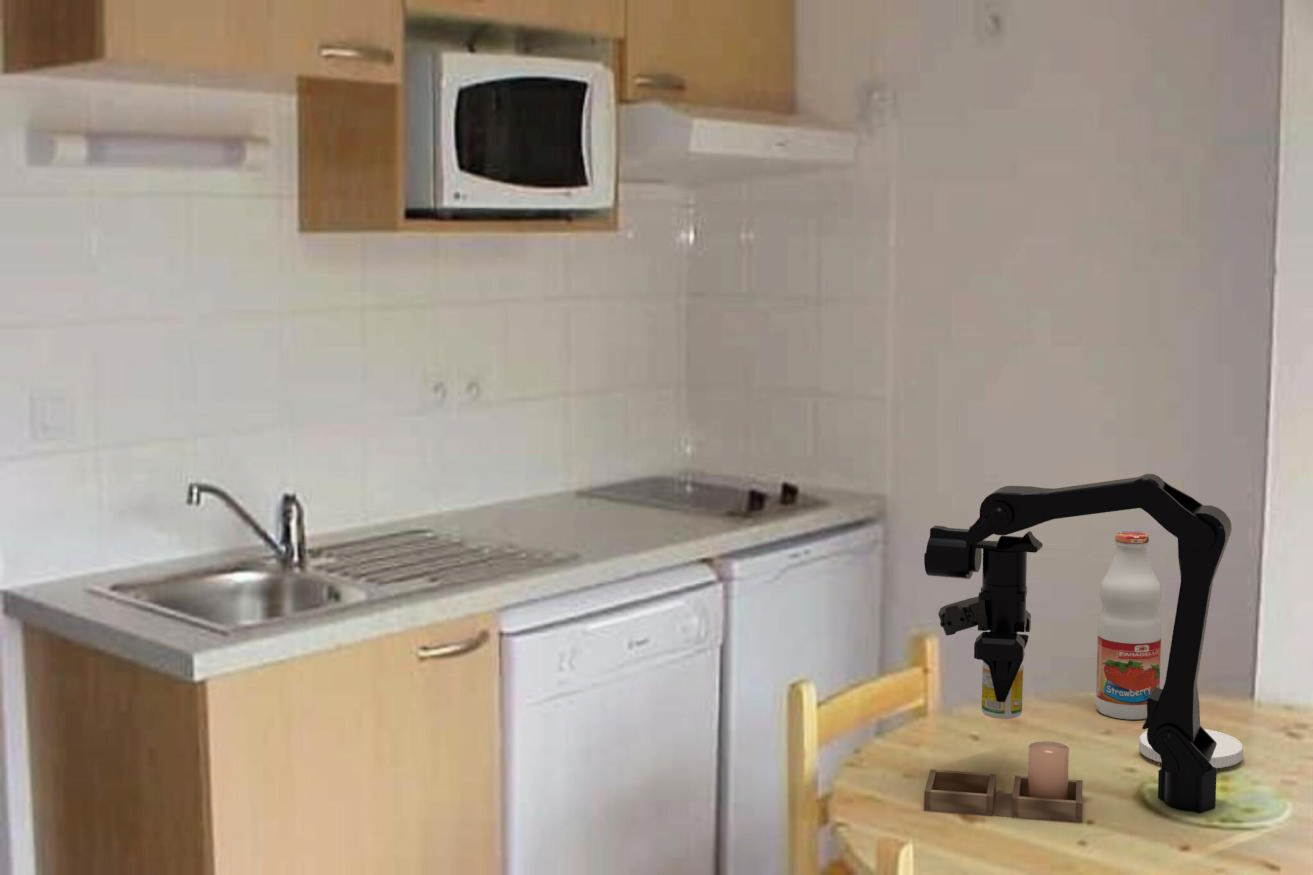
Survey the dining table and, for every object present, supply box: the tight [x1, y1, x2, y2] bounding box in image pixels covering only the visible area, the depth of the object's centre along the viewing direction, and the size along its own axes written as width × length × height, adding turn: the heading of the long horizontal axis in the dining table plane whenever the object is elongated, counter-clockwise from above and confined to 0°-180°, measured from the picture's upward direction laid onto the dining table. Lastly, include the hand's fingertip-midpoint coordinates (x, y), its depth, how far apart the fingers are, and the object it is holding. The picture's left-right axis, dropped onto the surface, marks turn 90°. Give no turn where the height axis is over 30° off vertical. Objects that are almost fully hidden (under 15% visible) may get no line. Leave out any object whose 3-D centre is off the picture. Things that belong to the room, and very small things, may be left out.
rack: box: [923, 768, 1084, 824], centre depth 210 cm, size 20×9×4 cm, turn 75°
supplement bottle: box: [981, 661, 1024, 720], centre depth 218 cm, size 5×5×10 cm
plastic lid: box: [1138, 728, 1244, 769], centre depth 231 cm, size 14×14×2 cm
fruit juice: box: [1095, 530, 1162, 721], centre depth 250 cm, size 9×9×28 cm
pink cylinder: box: [1027, 740, 1070, 800], centre depth 209 cm, size 5×5×8 cm
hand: (1002, 695), depth 219 cm, fingers closed on supplement bottle, 5 cm apart
